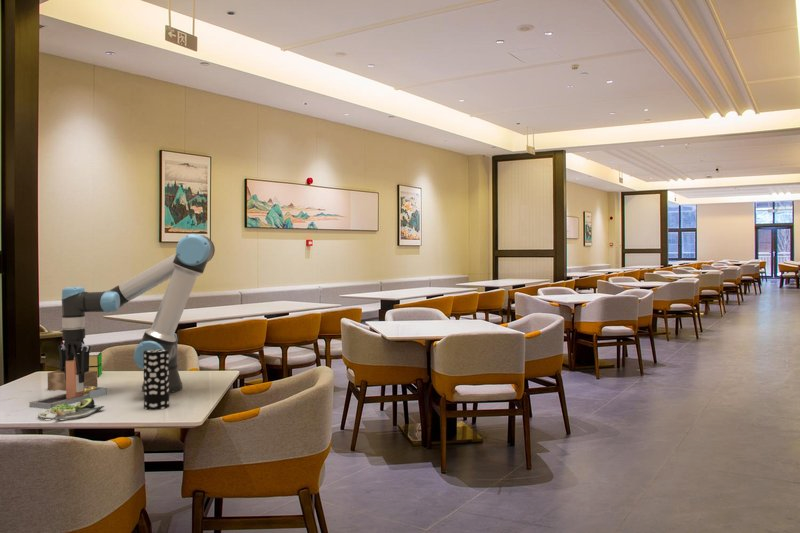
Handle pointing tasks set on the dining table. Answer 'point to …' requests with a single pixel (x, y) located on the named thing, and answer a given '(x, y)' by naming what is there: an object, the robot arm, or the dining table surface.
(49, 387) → the brown wooden block
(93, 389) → the ball
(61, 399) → the shallow gray open box
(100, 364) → the puzzle cube
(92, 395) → the tray
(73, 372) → the post
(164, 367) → the spotted tube
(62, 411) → the salad plate
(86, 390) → the ball
